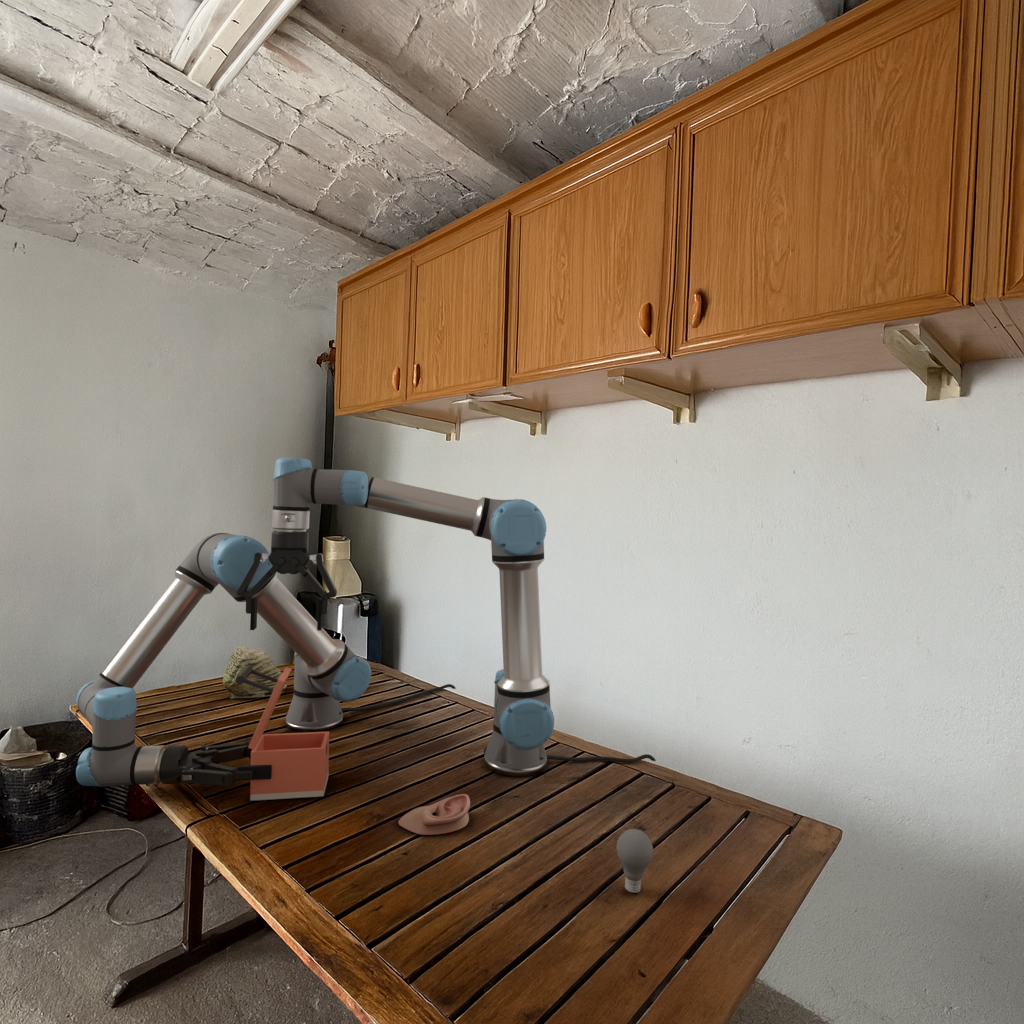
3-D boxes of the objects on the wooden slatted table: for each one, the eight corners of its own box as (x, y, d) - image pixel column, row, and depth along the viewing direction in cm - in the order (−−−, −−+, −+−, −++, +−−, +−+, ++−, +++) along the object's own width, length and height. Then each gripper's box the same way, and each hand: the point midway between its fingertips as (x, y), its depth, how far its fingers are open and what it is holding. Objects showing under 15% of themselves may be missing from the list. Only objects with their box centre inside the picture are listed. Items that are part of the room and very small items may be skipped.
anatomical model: (392, 810, 121) (414, 784, 132) (391, 830, 121) (413, 803, 132) (459, 820, 118) (475, 792, 130) (458, 841, 118) (474, 812, 130)
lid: (291, 668, 141) (251, 654, 139) (284, 681, 131) (241, 666, 130) (263, 732, 140) (223, 718, 139) (253, 749, 131) (210, 735, 129)
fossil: (218, 695, 195) (220, 647, 195) (278, 685, 208) (279, 640, 207) (228, 703, 189) (230, 653, 188) (289, 692, 201) (290, 645, 201)
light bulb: (610, 879, 108) (613, 822, 108) (644, 879, 109) (647, 822, 109) (619, 902, 102) (622, 840, 102) (655, 901, 103) (658, 840, 103)
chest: (328, 775, 143) (329, 731, 143) (323, 796, 133) (324, 748, 133) (260, 779, 140) (260, 734, 140) (250, 800, 131) (250, 752, 131)
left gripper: (181, 760, 143) (284, 757, 147) (142, 808, 121) (264, 803, 125) (182, 727, 143) (285, 725, 147) (143, 769, 121) (266, 766, 125)
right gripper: (223, 529, 130) (220, 632, 130) (349, 533, 134) (345, 633, 135) (233, 527, 137) (229, 625, 137) (351, 531, 142) (347, 625, 142)
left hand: (276, 761), depth 136 cm, fingers closed on chest, 10 cm apart
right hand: (286, 629), depth 136 cm, fingers open, 13 cm apart
